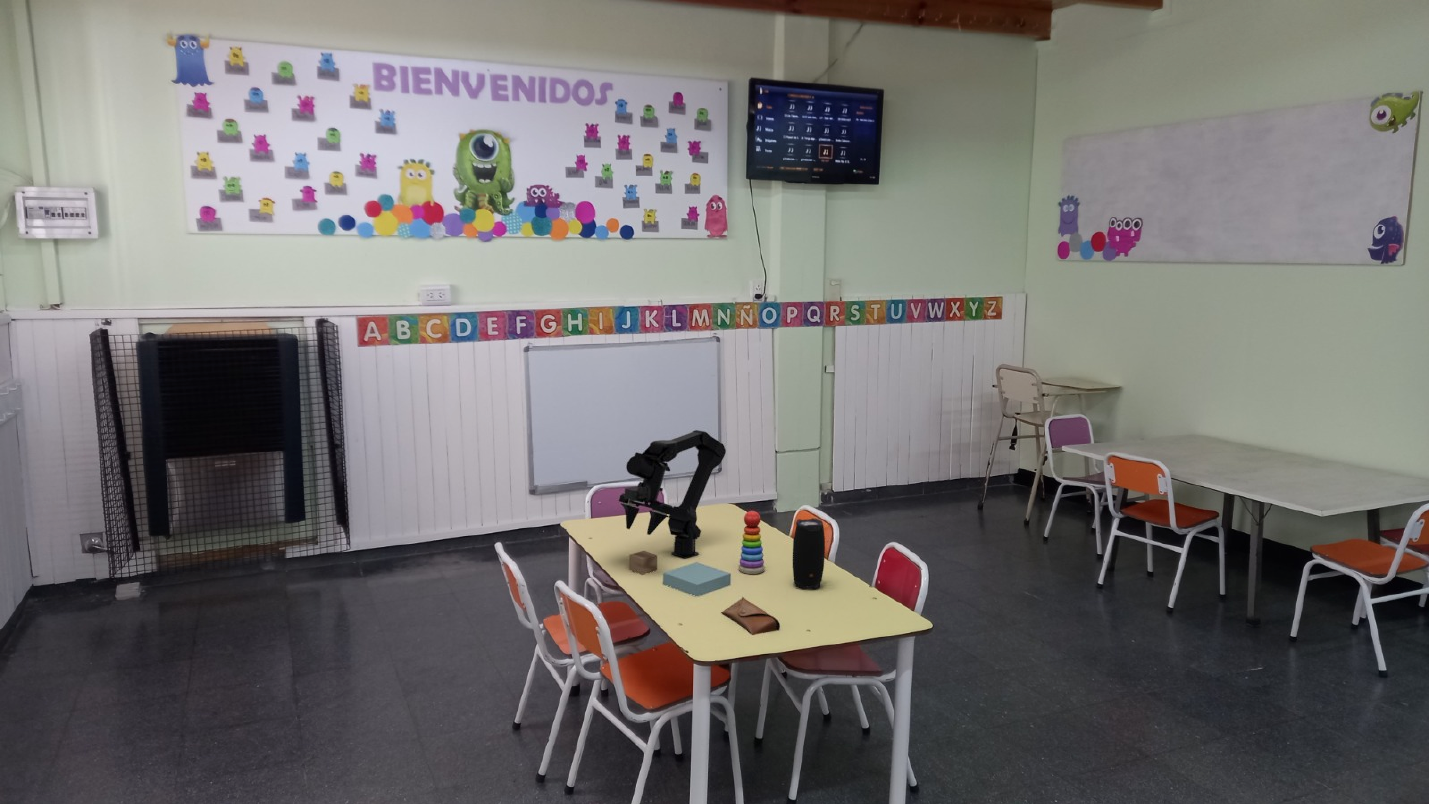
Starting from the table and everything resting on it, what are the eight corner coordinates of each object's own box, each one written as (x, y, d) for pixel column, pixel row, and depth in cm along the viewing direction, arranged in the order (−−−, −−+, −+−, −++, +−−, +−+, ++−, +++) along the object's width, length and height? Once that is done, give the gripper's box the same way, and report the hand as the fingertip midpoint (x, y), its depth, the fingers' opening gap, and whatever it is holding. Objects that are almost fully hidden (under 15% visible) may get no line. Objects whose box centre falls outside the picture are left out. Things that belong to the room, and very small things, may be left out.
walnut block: (643, 566, 294) (643, 550, 293) (657, 571, 290) (657, 555, 289) (629, 570, 289) (629, 554, 289) (642, 575, 285) (642, 559, 285)
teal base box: (696, 574, 288) (696, 562, 287) (730, 586, 279) (730, 573, 278) (662, 585, 278) (663, 572, 277) (697, 598, 268) (697, 584, 268)
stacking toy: (768, 569, 293) (770, 510, 290) (758, 576, 286) (760, 516, 283) (744, 565, 296) (746, 506, 293) (734, 572, 289) (736, 513, 286)
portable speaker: (820, 592, 274) (822, 527, 271) (788, 588, 276) (790, 523, 273) (825, 582, 282) (828, 519, 279) (794, 579, 285) (796, 516, 281)
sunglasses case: (717, 611, 257) (728, 589, 258) (735, 620, 261) (747, 598, 262) (753, 635, 242) (765, 612, 243) (772, 644, 246) (784, 621, 246)
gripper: (613, 471, 289) (598, 520, 287) (655, 480, 277) (640, 532, 274) (638, 479, 297) (624, 528, 295) (680, 489, 285) (666, 539, 282)
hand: (638, 531), depth 286 cm, fingers open, 9 cm apart
